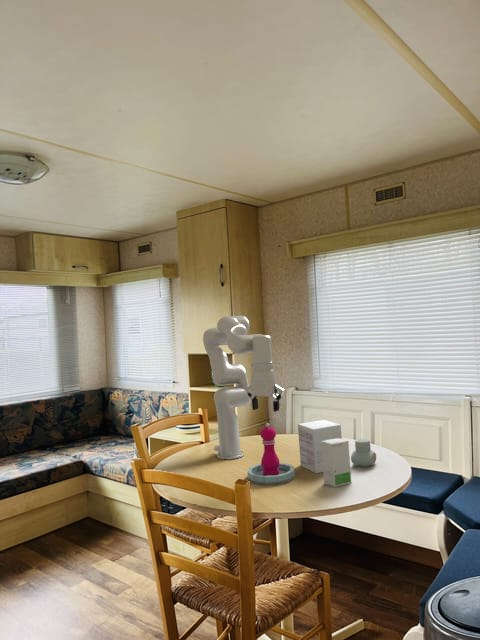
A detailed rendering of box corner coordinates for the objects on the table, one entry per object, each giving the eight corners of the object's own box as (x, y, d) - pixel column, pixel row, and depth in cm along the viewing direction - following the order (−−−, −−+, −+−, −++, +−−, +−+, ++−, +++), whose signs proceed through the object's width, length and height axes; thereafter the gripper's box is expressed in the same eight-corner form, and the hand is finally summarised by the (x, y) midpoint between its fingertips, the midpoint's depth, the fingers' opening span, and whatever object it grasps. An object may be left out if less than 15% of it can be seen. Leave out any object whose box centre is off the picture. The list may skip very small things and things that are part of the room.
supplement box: (327, 460, 206) (324, 419, 206) (344, 467, 193) (341, 424, 194) (299, 465, 201) (296, 423, 201) (315, 473, 189) (312, 429, 189)
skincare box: (334, 488, 171) (331, 444, 171) (322, 483, 177) (319, 441, 177) (352, 483, 175) (349, 440, 175) (340, 478, 181) (337, 437, 181)
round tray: (239, 481, 186) (238, 473, 186) (264, 468, 200) (263, 460, 200) (279, 488, 175) (279, 479, 175) (302, 473, 190) (302, 465, 190)
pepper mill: (260, 472, 191) (257, 422, 191) (278, 470, 192) (275, 420, 192) (263, 478, 184) (259, 426, 184) (281, 476, 185) (278, 424, 185)
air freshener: (358, 460, 202) (356, 436, 202) (377, 462, 198) (376, 437, 198) (350, 468, 192) (348, 443, 192) (370, 470, 188) (368, 444, 188)
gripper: (239, 367, 190) (242, 410, 190) (277, 368, 180) (279, 413, 180) (250, 365, 196) (252, 406, 197) (287, 365, 186) (289, 409, 187)
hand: (265, 410), depth 189 cm, fingers open, 9 cm apart
